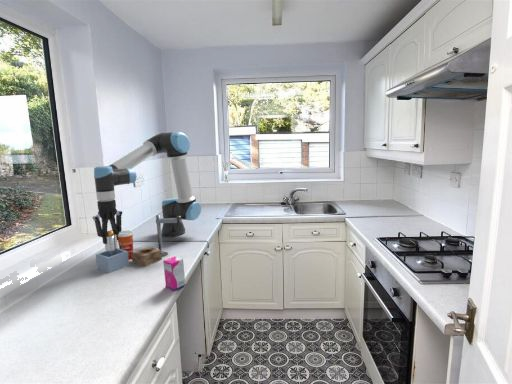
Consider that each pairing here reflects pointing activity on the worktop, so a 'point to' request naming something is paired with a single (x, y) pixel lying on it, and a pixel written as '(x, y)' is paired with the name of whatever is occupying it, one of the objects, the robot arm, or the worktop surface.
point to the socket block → (146, 256)
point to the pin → (111, 243)
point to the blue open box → (112, 260)
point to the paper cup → (126, 242)
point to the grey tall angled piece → (158, 221)
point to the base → (164, 253)
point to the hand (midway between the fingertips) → (111, 248)
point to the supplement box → (174, 273)
